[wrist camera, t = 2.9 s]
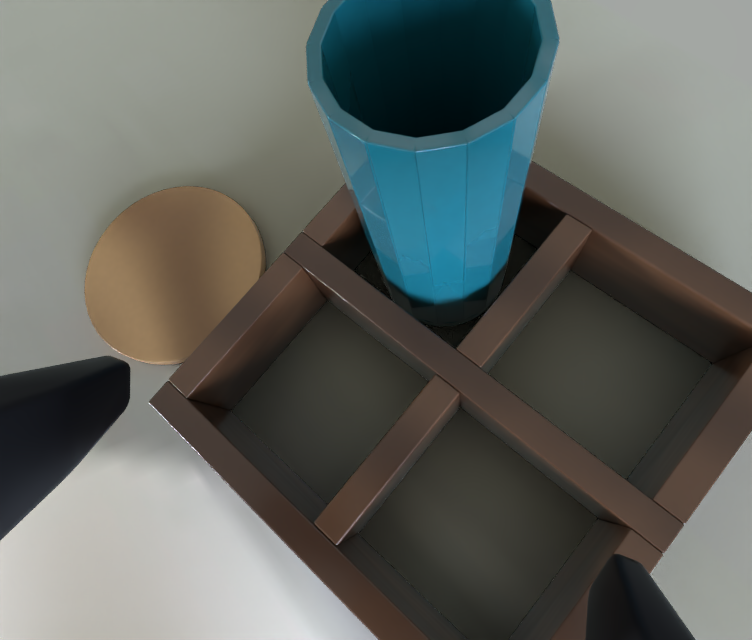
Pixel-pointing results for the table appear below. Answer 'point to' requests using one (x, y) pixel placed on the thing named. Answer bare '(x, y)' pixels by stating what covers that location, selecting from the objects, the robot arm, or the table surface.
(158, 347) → the coaster
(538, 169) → the glass rack
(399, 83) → the tumbler
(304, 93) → the table surface
